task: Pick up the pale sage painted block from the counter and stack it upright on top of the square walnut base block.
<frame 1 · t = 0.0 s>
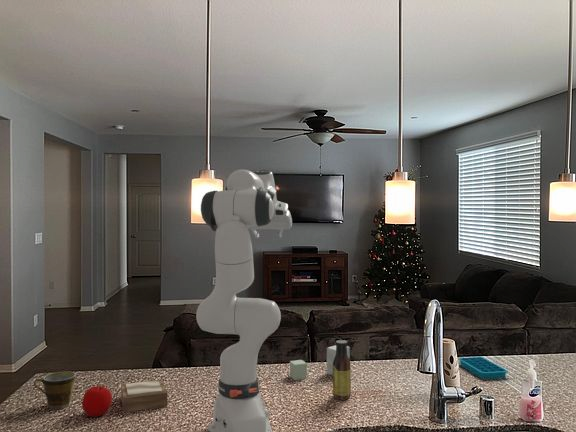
hand: (268, 237, 209), 54 cm above the countertop, tool tilted 30°, fingers open, 8 cm apart
fruit: (97, 414, 163), on the countertop
block: (298, 377, 198), on the countertop
ceramic cup: (55, 406, 169), on the countertop
base: (143, 401, 173), on the countertop
sauce bottle: (341, 397, 177), on the countertop
ice cube tray: (482, 372, 207), on the countertop
small box: (338, 373, 204), on the countertop
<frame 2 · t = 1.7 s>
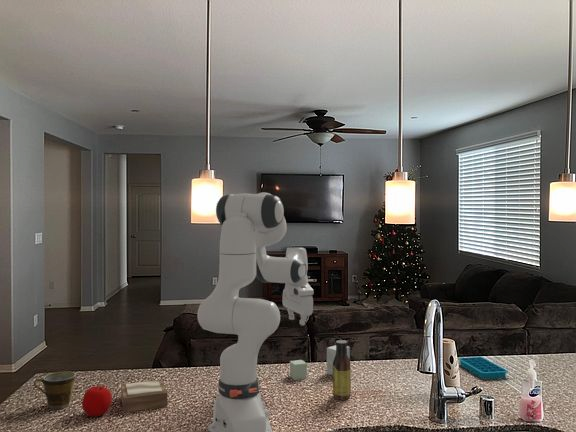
hand: (296, 322, 200), 21 cm above the countertop, tool pointing down, fingers open, 8 cm apart
nothing on the countertop moved.
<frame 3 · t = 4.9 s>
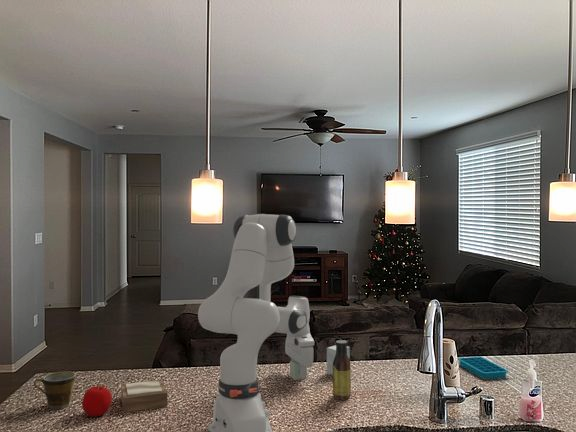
hand: (298, 371, 198), 2 cm above the countertop, tool pointing down, fingers closed on block, 5 cm apart
block: (298, 377, 198), on the countertop, touching gripper
everything else where it was.
when the fingers open (9 cm above the countertop, at t = 13.1 s): block drops 1 cm, resting on base.
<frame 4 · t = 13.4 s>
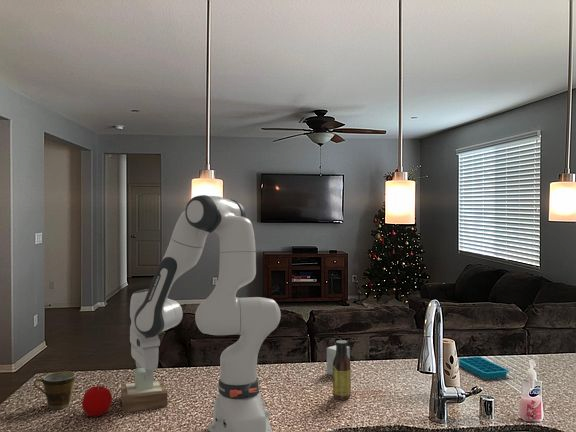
hand: (143, 376, 173), 9 cm above the countertop, tool pointing down, fingers open, 8 cm apart
block: (143, 387, 173), point 5 cm above the countertop, touching base
everything else where it was.
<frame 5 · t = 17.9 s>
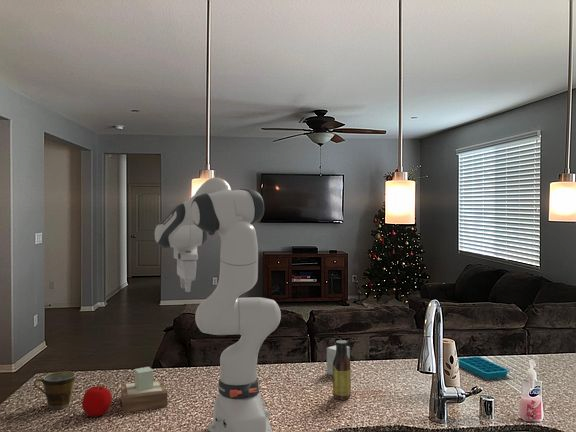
hand: (185, 289, 193), 35 cm above the countertop, tool pointing down, fingers open, 8 cm apart
nothing on the countertop moved.
at the end: block inside the target area on the base (0.1 cm from its centre), point 5.0 cm above the base's base; block tilted 0°; the gripper is holding nothing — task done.
